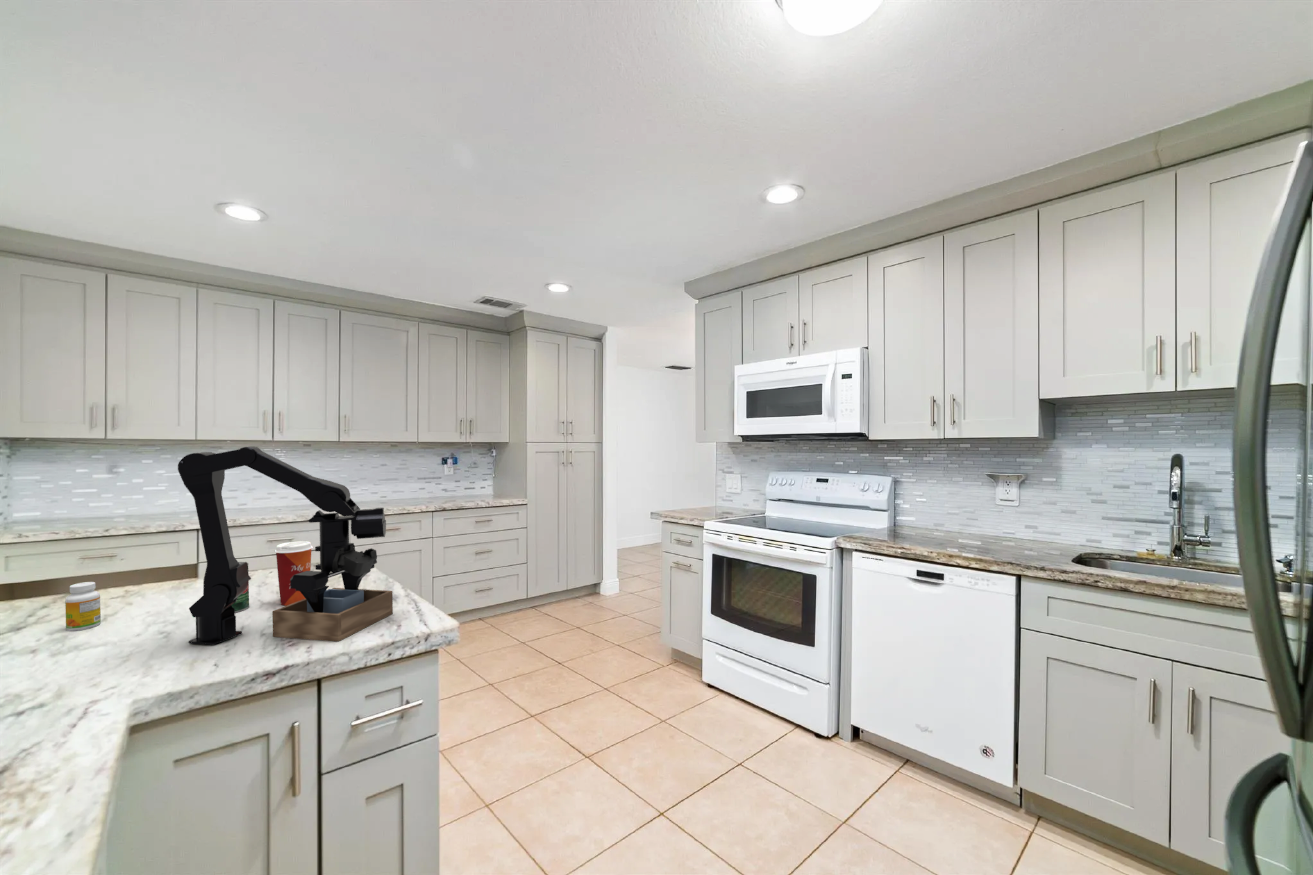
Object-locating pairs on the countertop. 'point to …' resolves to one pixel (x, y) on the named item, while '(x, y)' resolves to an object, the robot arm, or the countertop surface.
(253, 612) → the countertop surface
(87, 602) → the supplement bottle
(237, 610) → the canned tomato
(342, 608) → the small crate
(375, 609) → the big crate
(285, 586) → the coffee cup
